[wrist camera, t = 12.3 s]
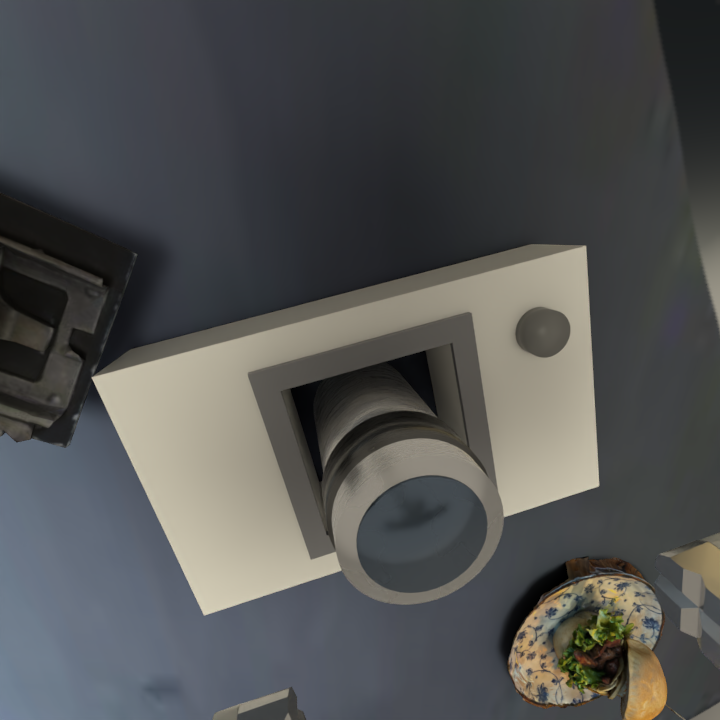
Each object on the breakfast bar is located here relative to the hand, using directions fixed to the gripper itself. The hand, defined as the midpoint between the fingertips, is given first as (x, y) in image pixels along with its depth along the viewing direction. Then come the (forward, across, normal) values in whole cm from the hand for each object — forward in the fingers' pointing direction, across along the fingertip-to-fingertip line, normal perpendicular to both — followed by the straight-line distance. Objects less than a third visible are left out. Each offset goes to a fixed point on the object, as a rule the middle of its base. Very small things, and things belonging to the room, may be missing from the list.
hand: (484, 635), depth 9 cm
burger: (+14, -10, +22) cm, 28 cm away
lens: (+14, 0, +1) cm, 14 cm away
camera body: (+14, 0, +1) cm, 14 cm away
